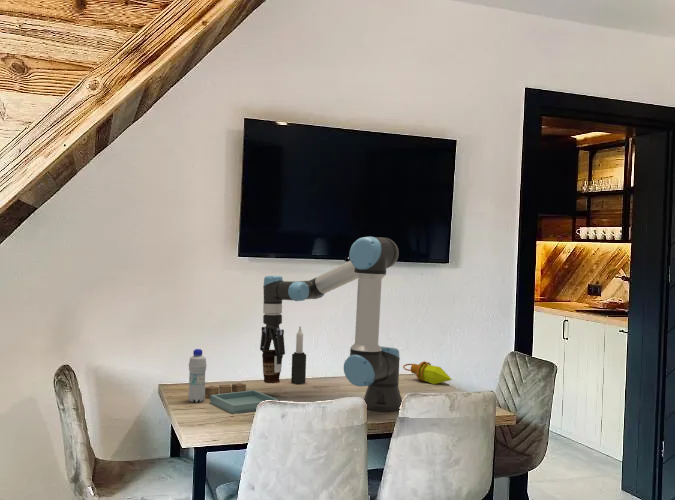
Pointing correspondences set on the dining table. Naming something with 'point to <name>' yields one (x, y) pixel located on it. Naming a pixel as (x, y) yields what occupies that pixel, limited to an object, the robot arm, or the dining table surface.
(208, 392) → the walnut block
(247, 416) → the dining table surface
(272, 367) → the coffee cup
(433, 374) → the plumb bob
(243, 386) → the walnut block
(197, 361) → the bottle
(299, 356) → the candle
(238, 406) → the tray
